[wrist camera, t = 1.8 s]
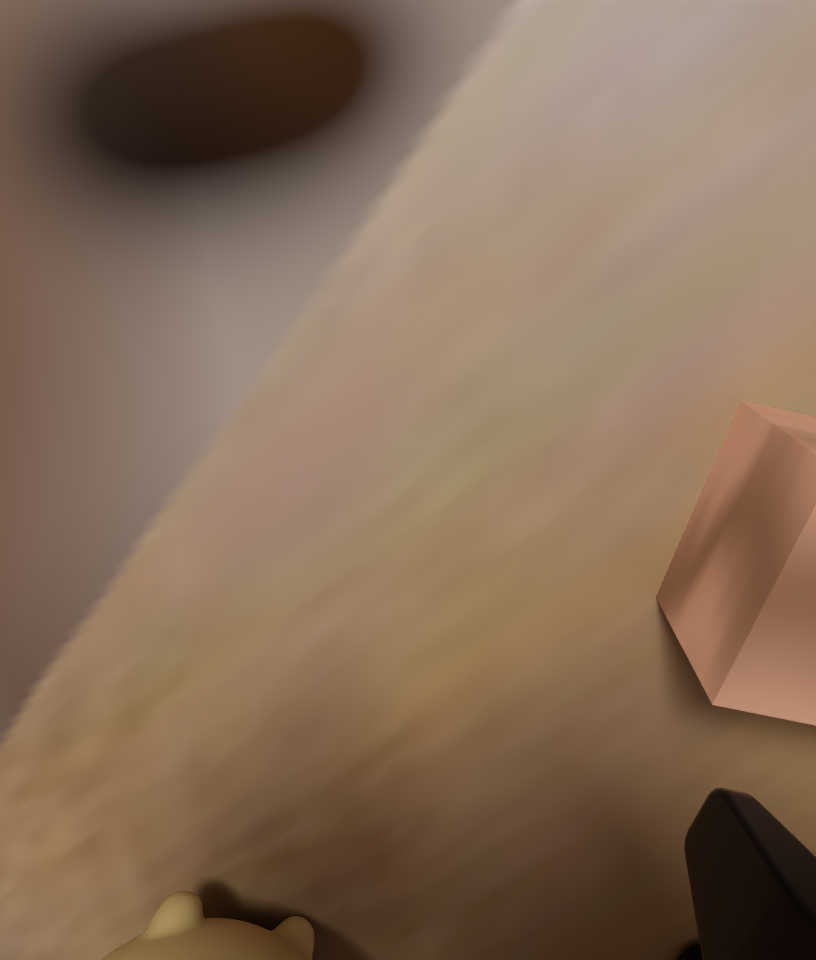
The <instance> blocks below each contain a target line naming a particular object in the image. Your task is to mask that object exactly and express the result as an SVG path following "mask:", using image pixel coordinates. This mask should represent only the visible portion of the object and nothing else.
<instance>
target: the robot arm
mask: <svg viewBox="0 0 816 960" xmlns="http://www.w3.org/2000/svg"><path fill="white" fill-rule="evenodd" d="M685 857H686V863H687V869H688V875H689V881H690V887H691V893H692V899H693V905H694V911H695V917H696V923H697V929H698V935H699V941H700V945H696V946H691V947H689V948H687V949H686V950H685V951H684V953H683V954H682V956H681V957H680V959H679V960H816V857H815V856H814V855H813V854H812V853H811V852H810V851H809V850H808V849H807V848H806V847H805V846H804V845H803V844H802V843H801V842H800V841H799V840H798V839H797V838H796V837H795V836H794V835H793V834H791V833H790V832H789V831H788V830H787V829H786V828H785V827H784V826H783V825H782V824H781V823H780V822H779V821H778V820H777V819H776V818H775V817H774V816H773V815H772V814H771V813H770V812H769V811H768V810H767V809H766V808H764V807H763V806H762V805H761V804H760V803H759V802H758V801H757V800H756V799H755V798H754V797H752V796H751V795H749V794H746V793H743V792H738V791H734V790H729V789H724V788H716V789H715V790H713V791H712V792H710V794H709V795H708V797H707V799H706V800H705V802H704V804H703V805H702V807H701V809H700V811H699V812H698V814H697V816H696V817H695V819H694V821H693V823H692V824H691V826H690V828H689V829H688V832H687V835H686V838H685Z"/></svg>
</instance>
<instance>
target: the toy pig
mask: <svg viewBox="0 0 816 960" xmlns="http://www.w3.org/2000/svg"><path fill="white" fill-rule="evenodd" d="M313 948H314V931H313V928H312V926H311V924H310V923H309V922H308V921H307V920H306V919H305V918H303V917H300V916H292V917H289V918H287V919H286V920H284V921H283V922H282V923H281V924H280V925H278V926H277V927H276V928H275V929H274V930H272V931H269V930H267V929H265V928H262V927H260V926H257V925H254V924H251V923H248V922H244V921H240V920H234V919H227V918H204V916H203V907H202V903H201V900H200V899H199V897H198V896H197V895H196V894H194V893H192V892H190V891H179V892H176V893H174V894H172V895H171V896H169V897H168V898H167V899H166V900H165V901H164V902H163V903H162V905H161V906H160V907H159V909H158V910H157V912H156V914H155V915H154V917H153V919H152V921H151V923H150V924H149V926H148V928H147V929H146V931H145V932H144V933H143V934H142V935H140V936H138V937H136V938H134V939H132V940H131V941H129V942H127V943H125V944H124V945H122V946H120V947H119V948H117V949H116V950H114V951H113V952H111V953H110V954H108V955H107V956H106V957H104V958H103V959H102V960H312V954H313Z"/></svg>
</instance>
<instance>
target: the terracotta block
mask: <svg viewBox="0 0 816 960" xmlns="http://www.w3.org/2000/svg"><path fill="white" fill-rule="evenodd" d="M656 599H657V601H658V602H659V604H660V606H661V608H662V610H663V612H664V614H665V616H666V618H667V620H668V621H669V623H670V625H671V627H672V629H673V631H674V633H675V635H676V637H677V639H678V640H679V642H680V644H681V646H682V648H683V650H684V652H685V654H686V656H687V658H688V659H689V661H690V663H691V665H692V667H693V669H694V671H695V673H696V675H697V677H698V678H699V680H700V682H701V684H702V686H703V688H704V690H705V692H706V694H707V696H708V697H709V699H710V701H711V703H712V705H716V706H721V707H726V708H731V709H736V710H741V711H746V712H751V713H756V714H761V715H766V716H771V717H776V718H781V719H786V720H791V721H796V722H801V723H806V724H811V725H816V417H811V416H807V415H802V414H798V413H793V412H789V411H785V410H780V409H776V408H771V407H767V406H762V405H758V404H753V403H749V402H744V401H741V403H740V405H739V407H738V410H737V412H736V414H735V416H734V419H733V421H732V423H731V426H730V428H729V430H728V433H727V435H726V437H725V440H724V442H723V444H722V446H721V449H720V451H719V453H718V456H717V458H716V460H715V463H714V465H713V467H712V469H711V472H710V474H709V476H708V479H707V481H706V483H705V486H704V488H703V490H702V493H701V495H700V497H699V499H698V502H697V504H696V506H695V509H694V511H693V513H692V516H691V518H690V520H689V522H688V525H687V527H686V529H685V532H684V534H683V536H682V539H681V541H680V543H679V546H678V548H677V550H676V552H675V555H674V557H673V559H672V562H671V564H670V566H669V569H668V571H667V573H666V576H665V578H664V580H663V582H662V585H661V587H660V589H659V592H658V594H657V596H656Z"/></svg>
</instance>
